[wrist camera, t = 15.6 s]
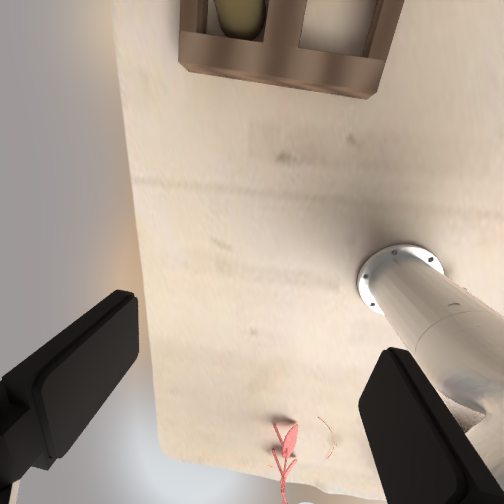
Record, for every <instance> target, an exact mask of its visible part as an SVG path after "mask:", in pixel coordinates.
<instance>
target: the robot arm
mask: <svg viewBox="0 0 504 504" xmlns="http://www.w3.org/2000/svg"><path fill="white" fill-rule="evenodd" d="M392 251H393V252H392ZM364 274H365V275H364ZM357 288H358V292H359V294H360V296H361V298H362V300H363V301H364V303H365V304H366V305H367V306H368V307H369V308H370V309H372V310H374V311H375V312H378V313H380V314H383V315H385V317H386V318H387V320H388V321H389V323H390V324H391V326H392V327H393V329H394V330H395V332H396V333H397V335H398V336H399V338H400V339H401V341H402V342H403V344H404V345H405V347H406V348H407V350H408V351H407V350H403V349H399V348H394V347H389V348H388V349H387V350H383V351H382V353H381V355H380V357H379V359H378V361H377V363H376V365H375V368H374V370H373V372H372V374H371V376H370V378H369V380H368V382H367V384H366V386H365V389H364V391H363V393H362V395H361V397H360V399H359V404H358V407H359V412H360V416H361V419H362V422H363V425H364V429H365V432H366V435H367V438H368V441H369V445H370V448H371V451H372V454H373V458H374V461H375V464H376V467H377V471H378V474H379V477H380V480H381V483H382V487H383V490H384V493H385V496H386V500H387V503H388V504H504V316H502V315H501V314H499V313H498V312H497V311H495V310H494V309H492V308H491V307H489V306H488V305H486V304H485V303H484V302H482V301H481V300H479V299H478V298H476V297H475V296H473V295H472V294H471V293H469V292H468V291H467V289H466V288H463V287H461V286H459V285H458V284H456V283H455V282H453V281H452V280H450V279H449V278H448V277H446V276H445V275H444V272H443V268H442V265H441V263H440V261H439V260H438V259H437V257H436V256H434V255H433V254H432V253H431V252H429V251H428V250H426V249H424V248H421V247H419V246H415V245H410V244H400V245H394V246H390V247H387V248H384V249H382V250H380V251H378V252H377V253H375V254H374V255H372V256H371V257H370V258H369V259H368V260H367V261H366V262H365V264H364V265H363V266H362V268H361V270H360V272H359V275H358V280H357ZM138 353H139V327H138V299H137V298H136V297H135V296H134V293H132V292H128V291H123V290H115V291H114V292H113V293H111V294H110V295H109V296H107V297H106V298H105V299H103V300H102V301H101V302H99V303H98V304H97V305H96V306H94V307H93V308H92V309H90V310H89V311H88V312H86V313H85V314H84V315H83V316H81V317H80V318H79V319H77V320H76V321H75V322H73V323H72V324H71V325H69V326H68V327H67V328H66V329H64V330H63V331H62V332H60V333H59V334H58V335H56V336H55V337H54V338H52V339H51V340H50V341H48V342H47V343H46V344H45V345H43V346H42V347H41V348H39V349H38V350H37V351H36V352H34V353H33V354H32V355H30V356H29V357H28V358H26V359H25V360H24V361H22V362H21V363H20V364H18V365H17V366H16V367H14V368H13V369H12V370H11V371H9V372H8V373H7V374H5V375H4V376H3V377H2V380H1V381H0V504H16V501H17V495H18V489H19V483H20V478H21V477H22V476H23V475H24V474H25V472H26V471H27V470H28V469H29V468H30V467H31V466H32V467H37V468H40V469H44V470H49V468H50V467H51V466H52V464H53V463H54V462H55V460H56V459H57V458H62V457H63V456H64V455H65V454H66V453H67V452H68V450H69V449H70V448H71V446H72V445H73V444H74V442H75V441H76V440H77V438H78V437H79V436H80V434H81V433H82V432H83V430H84V429H85V428H86V426H87V425H88V424H89V422H90V421H91V419H92V418H93V417H94V415H95V414H96V413H97V411H98V410H99V409H100V407H101V406H102V405H103V403H104V402H105V401H106V399H107V398H108V397H109V395H110V394H111V393H112V391H113V390H114V388H115V387H116V386H117V384H118V383H119V382H120V380H121V379H122V378H123V376H124V375H125V374H126V372H127V371H128V370H129V368H130V367H131V366H132V364H133V363H134V362H135V360H136V358H137V356H138ZM432 385H433V386H434V387H435V388H436V389H437V390H438V391H439V392H441V393H442V394H443V395H445V396H446V397H448V398H449V399H451V400H453V401H455V402H457V403H458V404H460V405H463V406H465V407H467V408H470V409H472V410H475V411H477V412H480V413H483V414H485V417H484V418H483V420H482V421H480V422H479V423H478V424H476V425H475V426H474V427H472V428H471V429H469V431H468V432H467V433H464V432H463V430H462V429H461V427H460V426H459V424H458V423H457V421H456V420H455V418H454V417H453V415H452V414H451V412H450V411H449V409H448V408H447V406H446V405H445V404H444V402H443V401H442V399H441V398H440V396H439V395H438V393H437V392H436V390H435V389H434V387H433V386H432Z"/></svg>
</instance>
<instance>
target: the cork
mask: <svg viewBox="0 0 504 504" xmlns="http://www.w3.org/2000/svg"><path fill="white" fill-rule="evenodd" d="M215 5H216V10H217V14H218V19H219V23H220V27H221V29H222V31H223V33H224V35H225V36H226V37H227V38H234V39H241V40H248V41H253V40H254V39H255V38H256V37H257V36H258V35H259V34H260V32H261V30H262V29H263V27H264V23H265V19H266V4H265V0H215Z"/></svg>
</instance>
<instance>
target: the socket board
mask: <svg viewBox="0 0 504 504" xmlns="http://www.w3.org/2000/svg"><path fill="white" fill-rule="evenodd" d="M403 3H404V0H377V4H376V8H375V11H374V15H373V19H372V22H371V26H370V30H369V33H368V37H367V41H366V45H365V48H364V52H363V56H362V57H357V56H350V55H343V54H336V53H330V52H323V51H316V50H309V49H302V48H298V47H299V41H300V36H301V31H302V25H303V20H304V15H305V9H306V4H307V0H269V6H268V13H267V20H266V27H265V34H264V41H263V43H261V42H255V41H248V40H241V39H234V38H227V37H221V36H214V35H207V34H206V26H207V12H208V0H181V3H180V31H179V58H178V62H179V63H180V64H181V65H183V66H184V67H185V68H186V69H187V70H188V71H189V72H194V73H200V74H207V75H213V76H219V77H226V78H232V79H239V80H245V81H251V82H258V83H264V84H271V85H277V86H284V87H290V88H296V89H303V90H309V91H316V92H322V93H328V94H335V95H341V96H348V97H354V98H360V99H368V98H369V97H371V96H372V95H373V94H375V93H376V92H377V89H378V86H379V82H380V79H381V76H382V73H383V69H384V66H385V63H386V59H387V56H388V53H389V49H390V46H391V43H392V40H393V36H394V33H395V30H396V26H397V23H398V20H399V16H400V13H401V10H402V7H403Z"/></svg>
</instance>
